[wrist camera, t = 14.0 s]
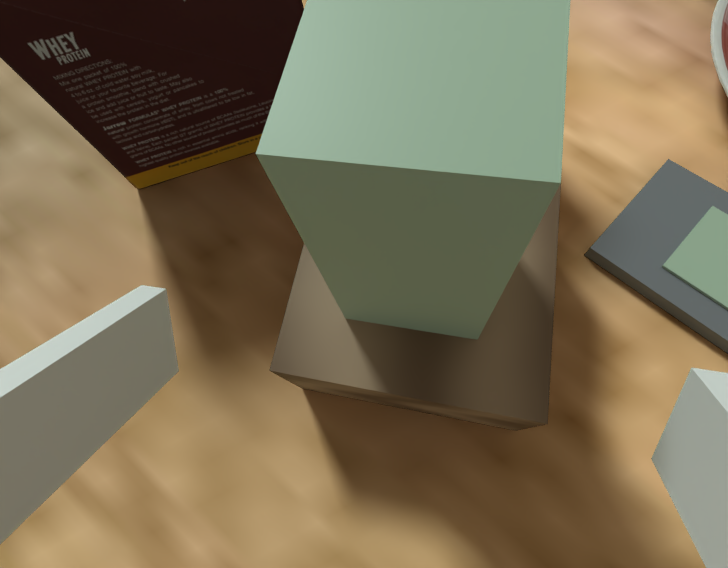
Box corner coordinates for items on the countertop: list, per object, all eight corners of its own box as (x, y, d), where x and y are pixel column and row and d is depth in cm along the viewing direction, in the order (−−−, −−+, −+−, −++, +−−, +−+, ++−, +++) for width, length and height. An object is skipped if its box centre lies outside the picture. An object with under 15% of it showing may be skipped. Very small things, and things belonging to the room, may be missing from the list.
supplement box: (337, 127, 32) (270, -142, 17) (137, 192, 32) (-96, -24, 17) (304, 33, 36) (227, -250, 21) (126, 91, 36) (-72, -154, 21)
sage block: (345, 318, 20) (255, 153, 9) (369, 206, 22) (321, -42, 11) (477, 339, 19) (560, 182, 8) (490, 220, 21) (572, -39, 10)
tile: (584, 254, 26) (591, 246, 25) (660, 168, 28) (670, 157, 26) (789, 396, 22) (809, 393, 21) (865, 287, 24) (887, 279, 23)
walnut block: (302, 388, 25) (269, 370, 20) (345, 209, 29) (328, 152, 24) (516, 430, 23) (547, 423, 18) (531, 231, 27) (561, 174, 22)
